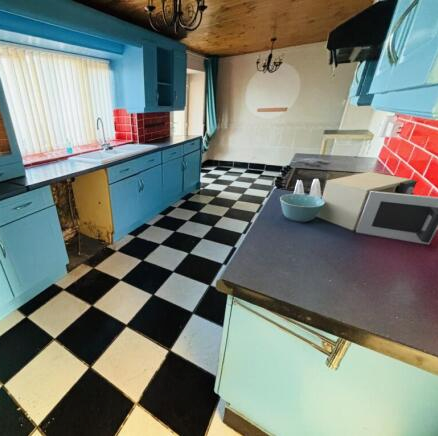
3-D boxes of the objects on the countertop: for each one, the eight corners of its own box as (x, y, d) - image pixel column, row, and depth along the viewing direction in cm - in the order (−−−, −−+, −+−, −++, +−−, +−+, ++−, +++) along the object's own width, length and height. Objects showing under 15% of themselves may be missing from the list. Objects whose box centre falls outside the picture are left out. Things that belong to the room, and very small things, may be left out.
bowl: (274, 221, 99) (277, 202, 95) (279, 208, 111) (282, 191, 107) (319, 229, 91) (325, 209, 87) (319, 214, 102) (324, 196, 99)
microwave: (403, 219, 94) (420, 180, 87) (359, 233, 86) (375, 191, 80) (357, 206, 108) (369, 171, 101) (316, 216, 101) (326, 180, 94)
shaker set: (320, 200, 117) (326, 178, 113) (320, 202, 114) (327, 180, 109) (292, 197, 123) (296, 176, 118) (292, 199, 120) (296, 178, 115)
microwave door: (435, 252, 73) (460, 206, 67) (358, 238, 83) (373, 196, 76) (427, 242, 79) (450, 198, 72) (355, 230, 88) (370, 190, 82)
